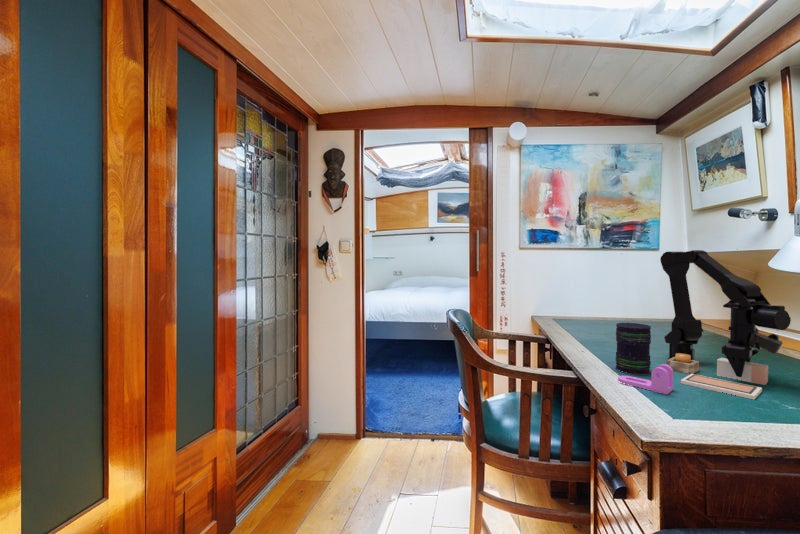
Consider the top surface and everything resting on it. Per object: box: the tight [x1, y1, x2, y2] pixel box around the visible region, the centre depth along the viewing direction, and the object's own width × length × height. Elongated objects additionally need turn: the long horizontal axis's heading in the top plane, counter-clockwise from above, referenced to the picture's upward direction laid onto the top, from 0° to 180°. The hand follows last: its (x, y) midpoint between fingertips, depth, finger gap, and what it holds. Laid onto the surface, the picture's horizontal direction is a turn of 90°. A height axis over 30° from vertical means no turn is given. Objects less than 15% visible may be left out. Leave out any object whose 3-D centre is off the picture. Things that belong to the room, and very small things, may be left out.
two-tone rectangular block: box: [716, 357, 769, 386], centre depth 115 cm, size 11×4×5 cm, turn 38°
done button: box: [675, 353, 691, 364], centre depth 124 cm, size 4×4×3 cm
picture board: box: [680, 373, 763, 401], centre depth 107 cm, size 16×10×1 cm, turn 38°
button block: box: [666, 357, 700, 375], centre depth 124 cm, size 7×7×3 cm
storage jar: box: [615, 322, 652, 375], centre depth 123 cm, size 10×10×15 cm
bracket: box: [617, 363, 674, 395], centre depth 108 cm, size 13×6×7 cm, turn 40°
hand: (741, 374), depth 115 cm, fingers open, 6 cm apart
